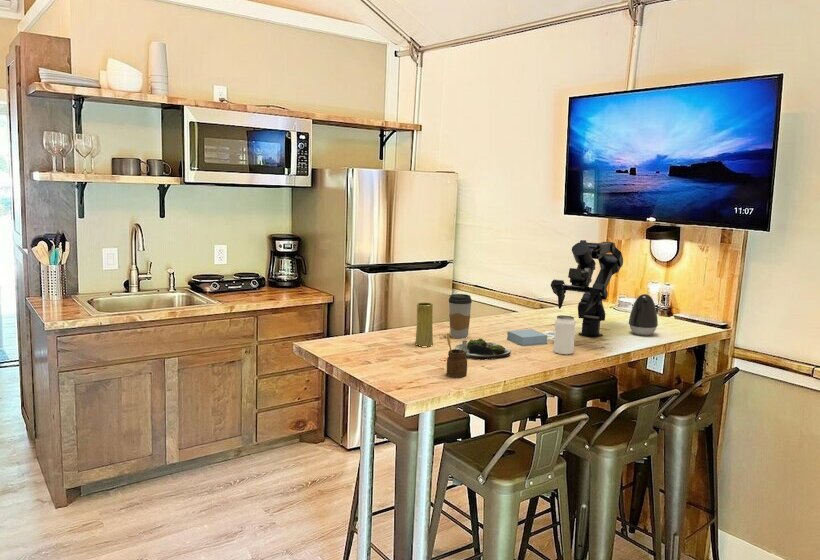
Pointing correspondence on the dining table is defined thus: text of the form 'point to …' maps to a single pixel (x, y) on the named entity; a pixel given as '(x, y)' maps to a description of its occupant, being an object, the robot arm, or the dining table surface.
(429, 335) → the vase
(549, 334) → the page
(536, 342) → the base brick
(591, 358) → the dining table surface
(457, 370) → the utensil holder
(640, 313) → the black egg-shaped dome
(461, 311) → the coffee cup
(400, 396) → the dining table surface
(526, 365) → the dining table surface
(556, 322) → the can
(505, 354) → the salad plate
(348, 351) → the dining table surface
